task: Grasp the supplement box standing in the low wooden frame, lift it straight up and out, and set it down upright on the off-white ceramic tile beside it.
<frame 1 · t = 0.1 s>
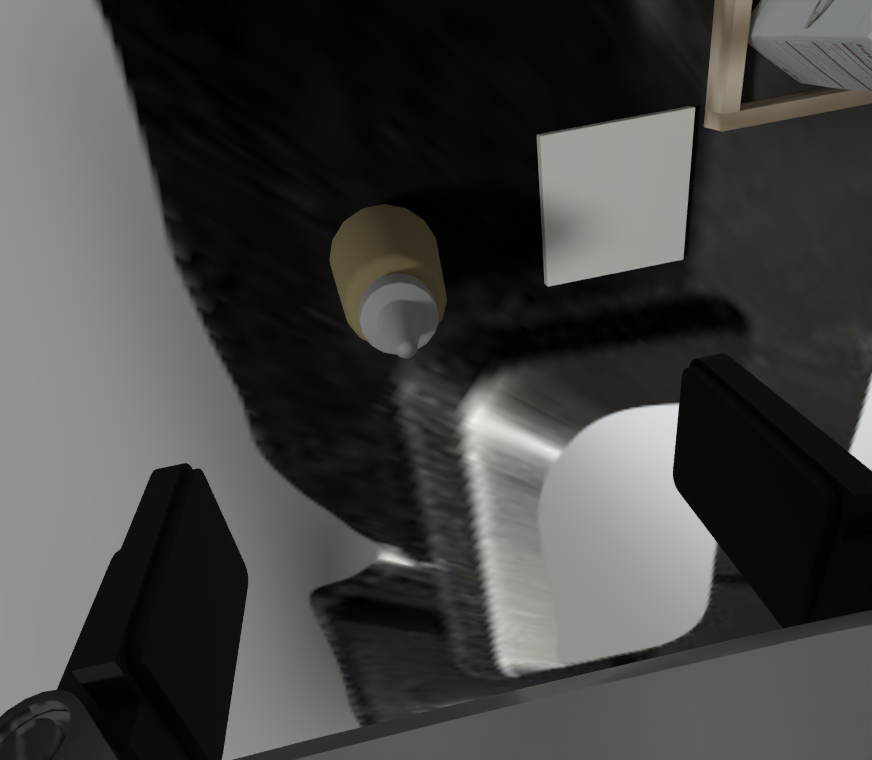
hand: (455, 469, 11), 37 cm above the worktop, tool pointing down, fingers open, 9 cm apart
squeeze bottle: (381, 243, 47), on the worktop
supplement box: (798, 11, 43), resting in wooden frame
wooden frame: (800, 11, 42), on the worktop
tile: (612, 199, 47), on the worktop
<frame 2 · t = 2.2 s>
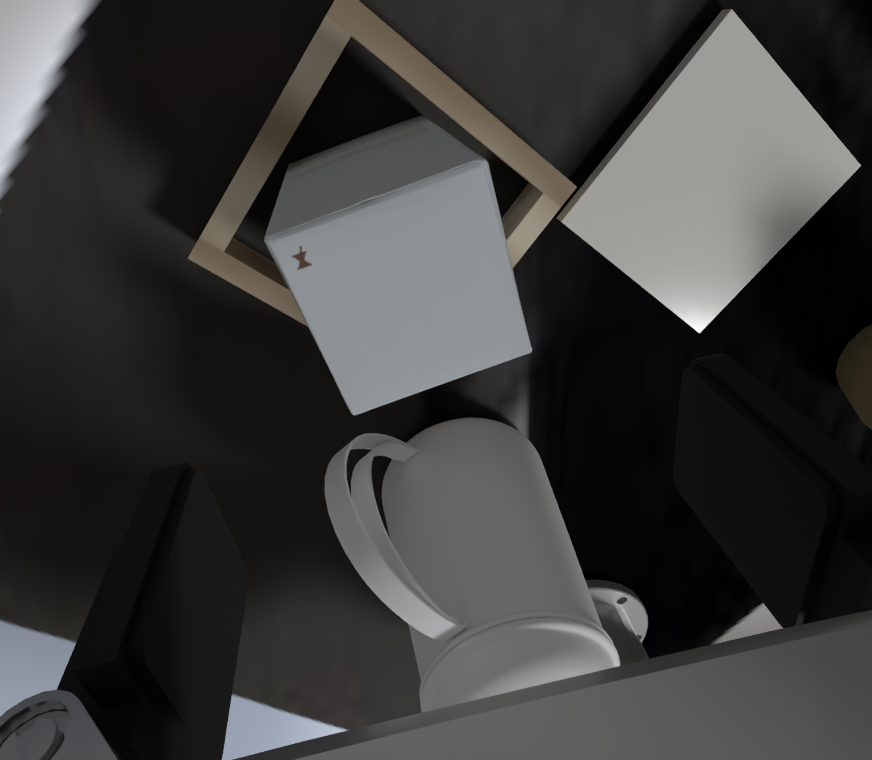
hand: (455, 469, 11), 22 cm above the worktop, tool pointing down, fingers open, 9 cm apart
supplement box: (382, 208, 30), resting in wooden frame
wooden frame: (382, 209, 30), on the worktop
coffeepot: (464, 480, 40), on the worktop
tile: (705, 190, 32), on the worktop
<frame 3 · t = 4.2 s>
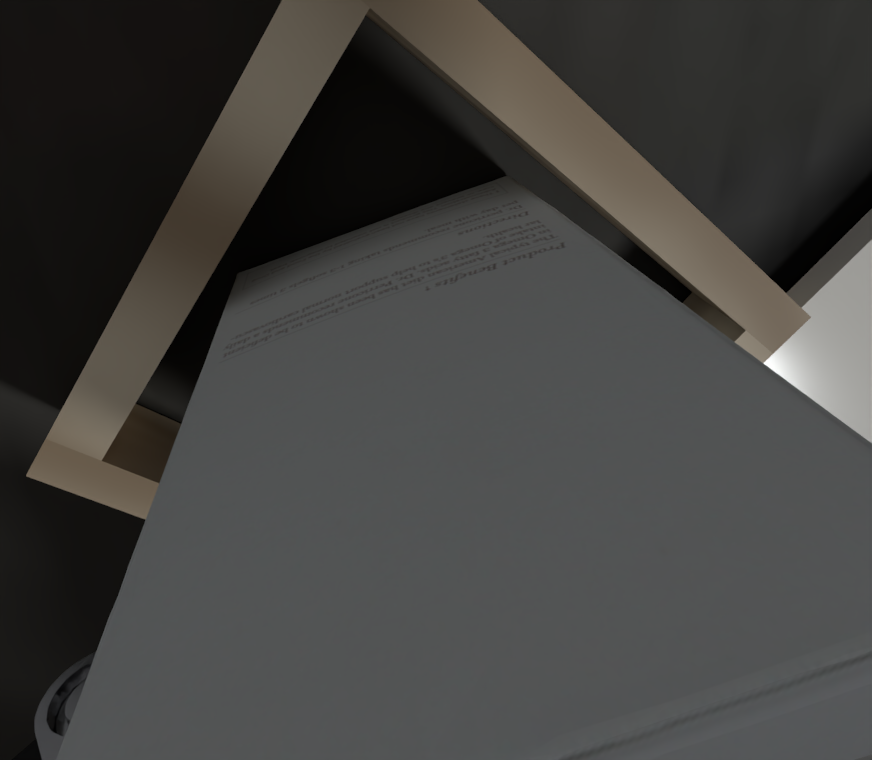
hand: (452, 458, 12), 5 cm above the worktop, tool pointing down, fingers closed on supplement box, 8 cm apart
supplement box: (419, 341, 16), resting in wooden frame, touching gripper
wooden frame: (420, 345, 16), on the worktop
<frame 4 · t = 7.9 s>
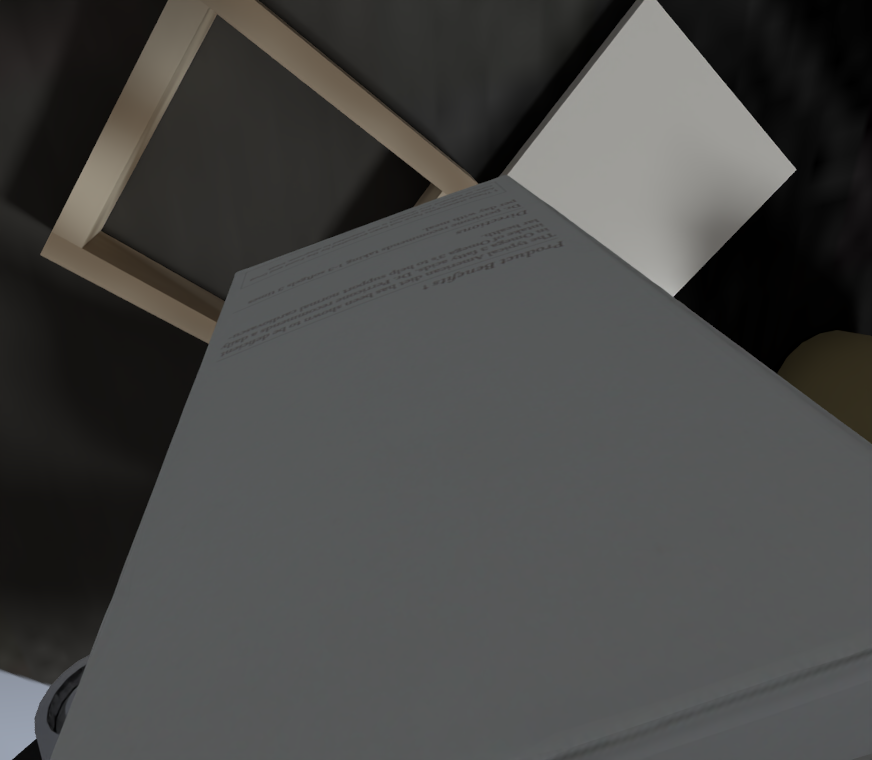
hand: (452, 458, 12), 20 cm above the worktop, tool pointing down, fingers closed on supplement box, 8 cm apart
squeeze bottle: (813, 368, 38), on the worktop
supplement box: (418, 340, 16), point 14 cm above the worktop, touching gripper
wooden frame: (270, 204, 28), on the worktop
tile: (629, 191, 30), on the worktop
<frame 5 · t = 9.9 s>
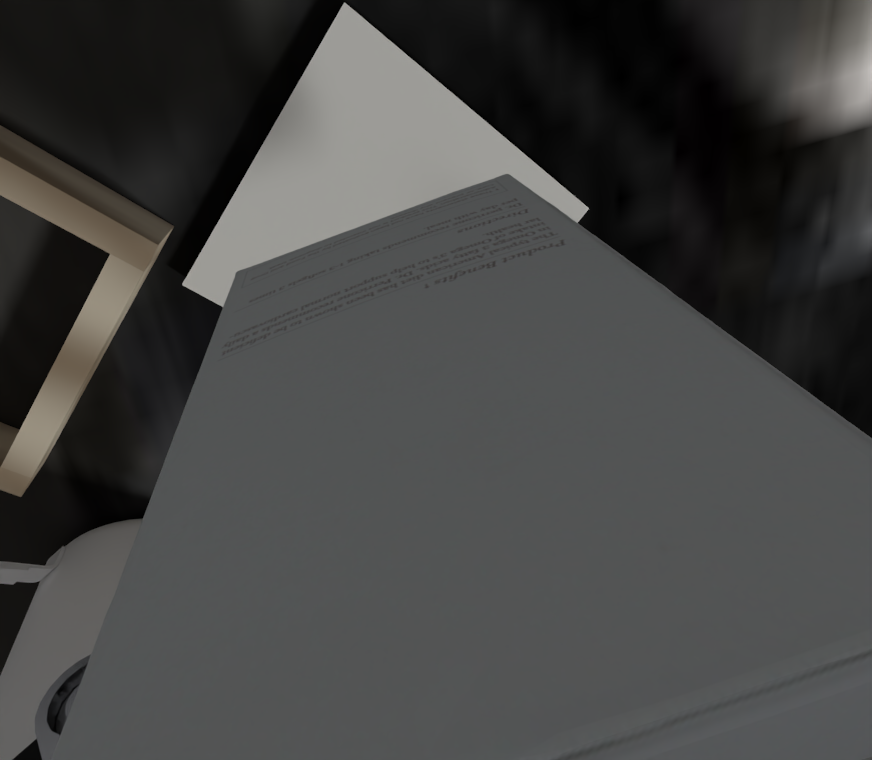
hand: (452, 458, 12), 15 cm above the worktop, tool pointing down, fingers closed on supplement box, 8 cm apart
supplement box: (419, 340, 16), point 10 cm above the worktop, touching gripper
coffeepot: (168, 584, 33), on the worktop
tile: (388, 240, 25), on the worktop
when the fingers open (7 cm above the worktop, at t = 11.9 s): supplement box drops 1 cm, resting on tile.
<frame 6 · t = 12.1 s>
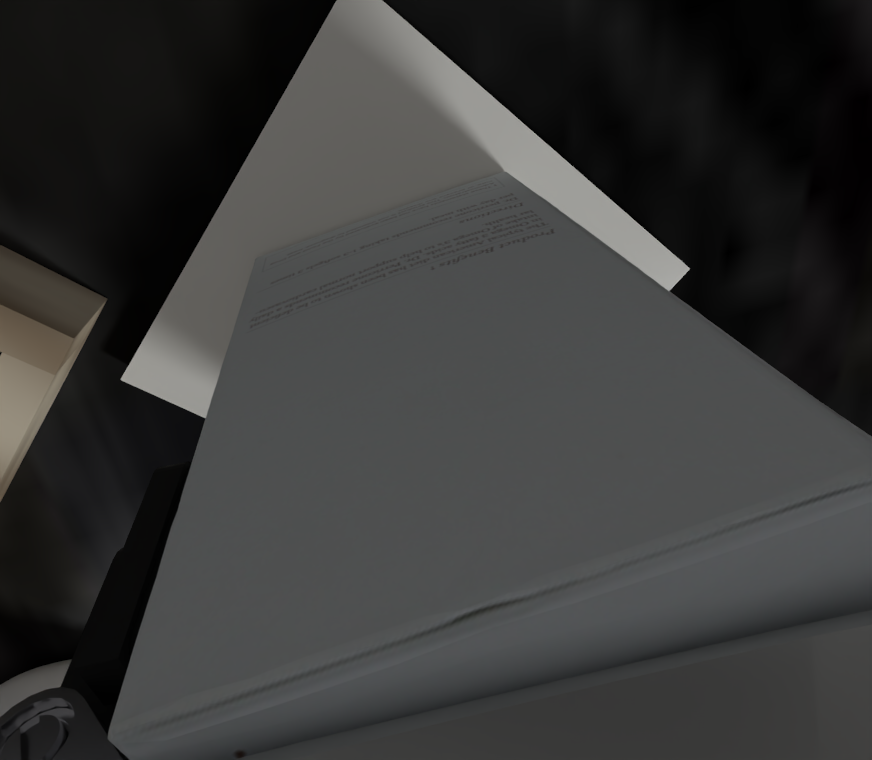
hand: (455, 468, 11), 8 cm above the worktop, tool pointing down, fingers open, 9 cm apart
supplement box: (422, 324, 17), point 1 cm above the worktop, touching tile
coffeepot: (126, 723, 26), on the worktop
tile: (410, 311, 18), on the worktop
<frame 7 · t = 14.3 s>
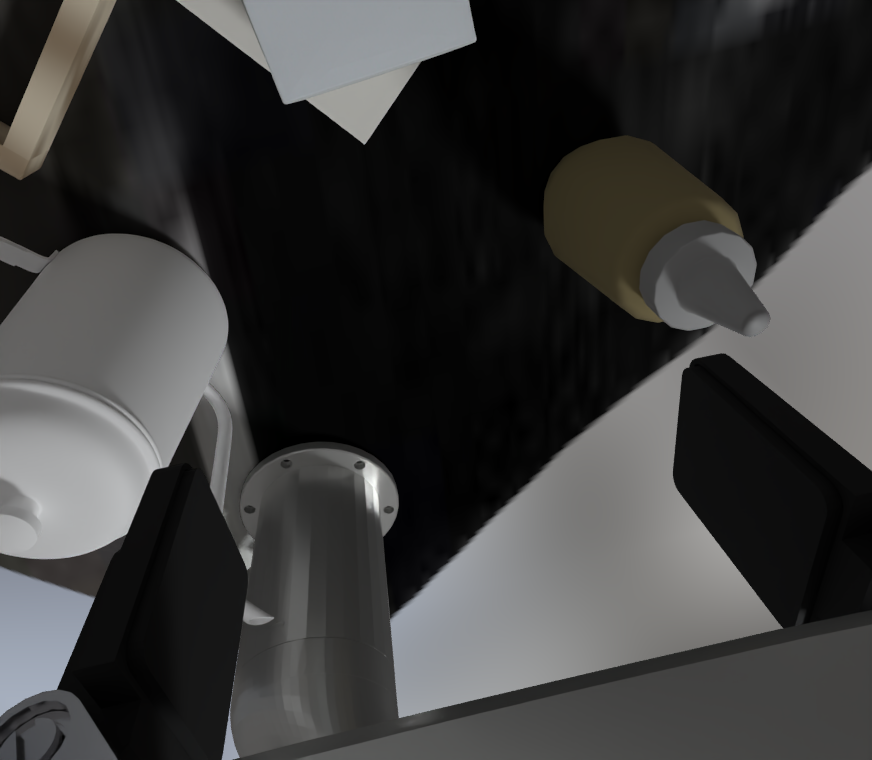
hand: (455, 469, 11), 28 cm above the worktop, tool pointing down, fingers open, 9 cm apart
squeeze bottle: (586, 190, 37), on the worktop
coffeepot: (148, 315, 38), on the worktop
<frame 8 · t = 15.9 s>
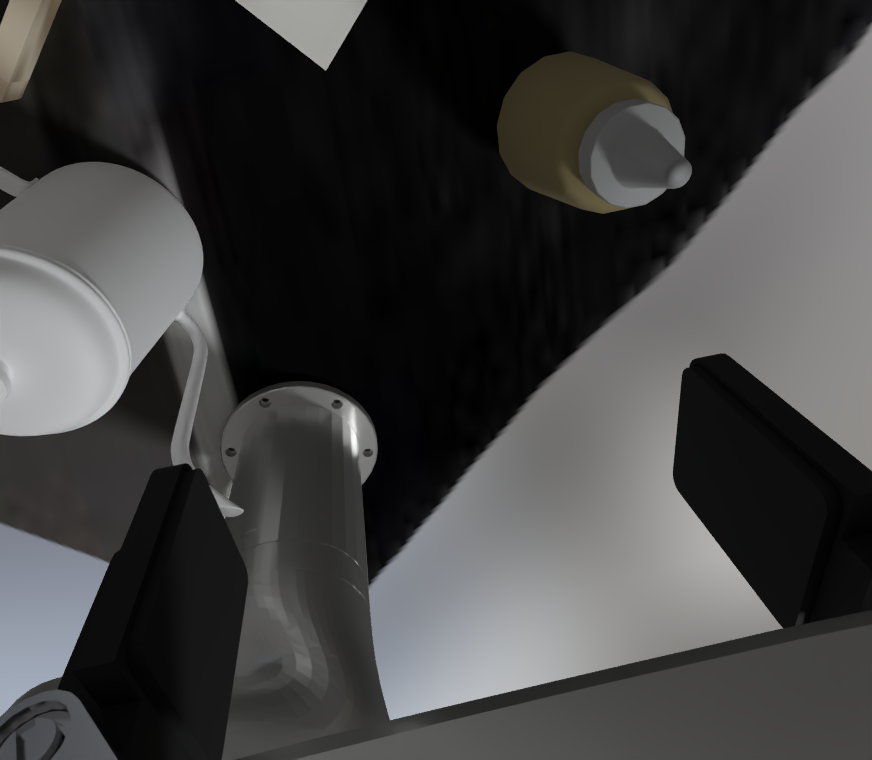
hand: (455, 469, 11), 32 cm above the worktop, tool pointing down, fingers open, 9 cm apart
squeeze bottle: (541, 118, 39), on the worktop
coffeepot: (127, 248, 40), on the worktop
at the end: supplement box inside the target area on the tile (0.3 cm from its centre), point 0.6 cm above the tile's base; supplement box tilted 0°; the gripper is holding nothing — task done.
